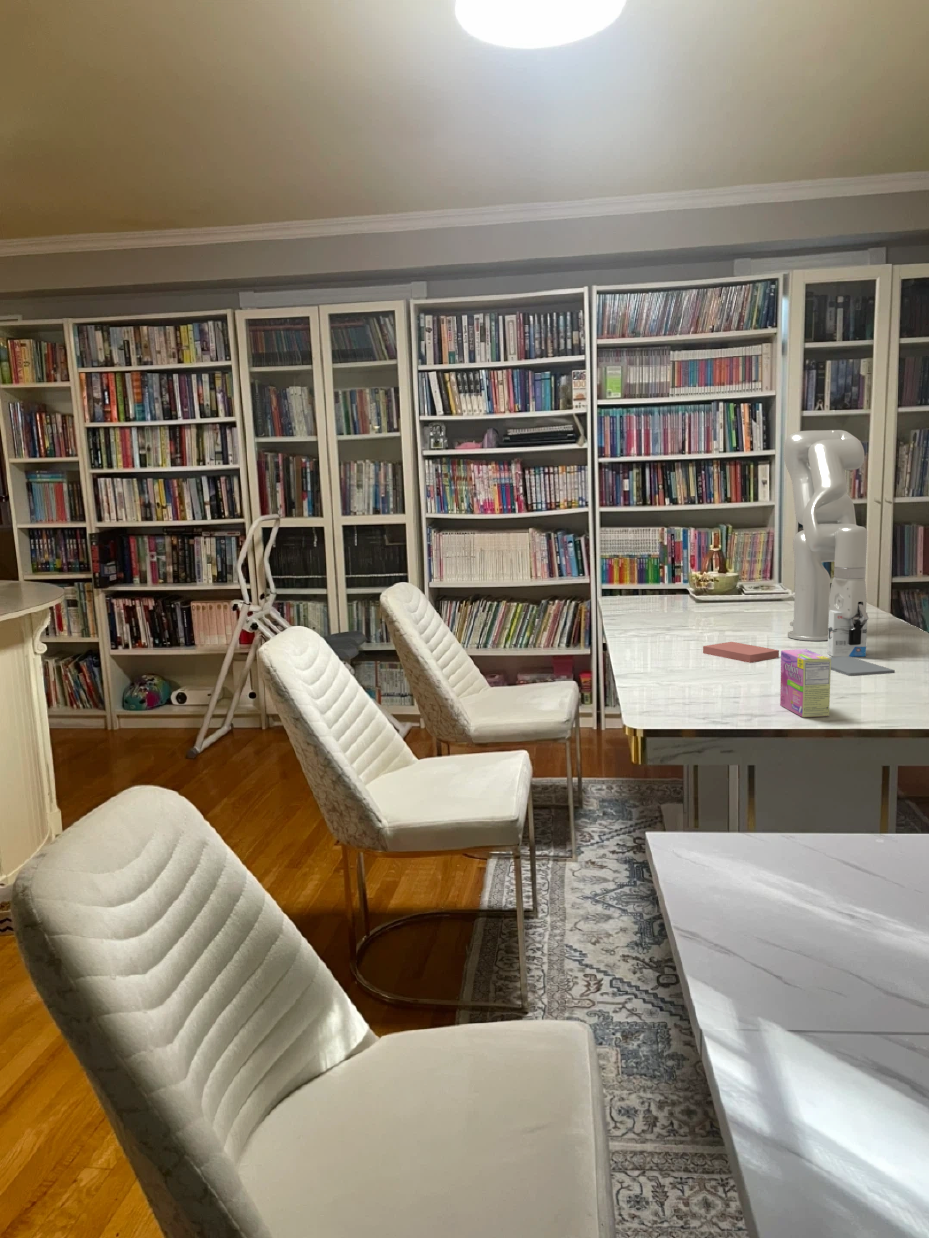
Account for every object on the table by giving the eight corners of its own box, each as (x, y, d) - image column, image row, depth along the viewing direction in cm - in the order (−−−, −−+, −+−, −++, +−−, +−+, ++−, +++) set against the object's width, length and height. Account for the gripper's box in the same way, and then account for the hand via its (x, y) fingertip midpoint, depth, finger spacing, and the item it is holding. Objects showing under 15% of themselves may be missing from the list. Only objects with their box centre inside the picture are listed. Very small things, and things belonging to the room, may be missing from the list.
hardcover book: (702, 655, 244) (703, 646, 243) (731, 650, 249) (731, 641, 249) (749, 664, 230) (750, 655, 230) (778, 659, 236) (779, 650, 235)
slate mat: (806, 661, 230) (806, 658, 230) (848, 658, 232) (848, 656, 232) (849, 675, 213) (849, 673, 213) (894, 672, 215) (894, 670, 215)
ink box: (859, 653, 239) (861, 609, 237) (866, 657, 234) (868, 612, 232) (826, 653, 240) (828, 609, 238) (832, 657, 235) (833, 612, 233)
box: (778, 705, 187) (780, 649, 185) (805, 704, 187) (807, 648, 186) (801, 718, 177) (803, 659, 175) (829, 717, 177) (832, 658, 175)
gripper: (817, 571, 241) (814, 637, 244) (857, 577, 224) (854, 649, 227) (842, 570, 243) (839, 636, 245) (884, 576, 226) (880, 647, 229)
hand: (846, 641), depth 236 cm, fingers closed on ink box, 6 cm apart
